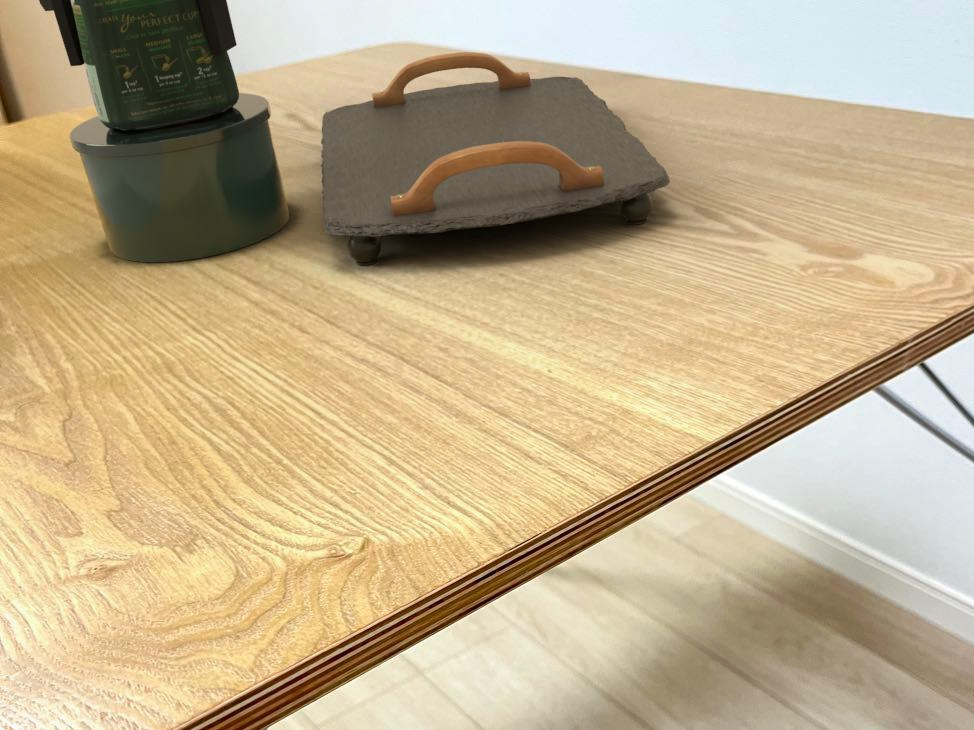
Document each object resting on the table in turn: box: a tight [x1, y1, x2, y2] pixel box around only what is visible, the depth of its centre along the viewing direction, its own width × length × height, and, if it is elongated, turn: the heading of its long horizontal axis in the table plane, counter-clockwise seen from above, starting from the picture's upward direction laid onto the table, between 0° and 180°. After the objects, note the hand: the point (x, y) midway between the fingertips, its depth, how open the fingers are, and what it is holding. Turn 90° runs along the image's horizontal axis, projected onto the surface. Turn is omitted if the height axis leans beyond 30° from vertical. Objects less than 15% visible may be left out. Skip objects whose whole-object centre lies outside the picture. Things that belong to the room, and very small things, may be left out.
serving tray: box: [320, 51, 670, 266], centre depth 86 cm, size 39×23×6 cm, turn 9°
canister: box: [69, 92, 290, 263], centre depth 81 cm, size 14×14×8 cm
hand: (153, 55), depth 77 cm, fingers open, 9 cm apart
